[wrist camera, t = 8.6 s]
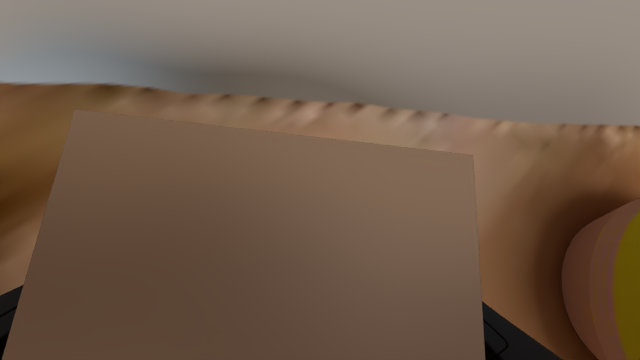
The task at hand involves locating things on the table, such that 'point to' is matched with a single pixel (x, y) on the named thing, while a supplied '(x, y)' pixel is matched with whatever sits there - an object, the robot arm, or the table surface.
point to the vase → (606, 284)
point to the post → (250, 249)
